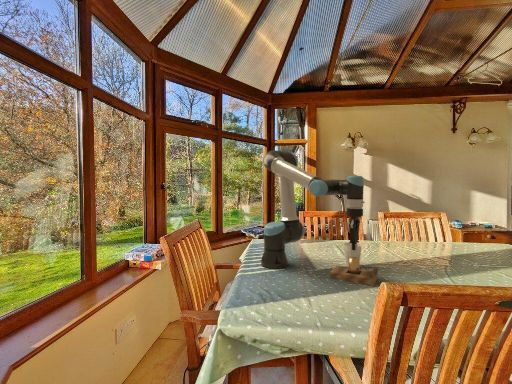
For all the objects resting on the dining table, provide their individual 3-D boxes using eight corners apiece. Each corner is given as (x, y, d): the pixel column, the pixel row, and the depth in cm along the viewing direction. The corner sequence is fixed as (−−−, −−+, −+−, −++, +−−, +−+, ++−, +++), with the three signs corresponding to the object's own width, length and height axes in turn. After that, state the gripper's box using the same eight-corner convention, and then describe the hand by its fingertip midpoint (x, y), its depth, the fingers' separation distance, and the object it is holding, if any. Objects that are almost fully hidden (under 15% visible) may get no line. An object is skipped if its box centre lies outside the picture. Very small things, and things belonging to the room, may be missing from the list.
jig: (329, 277, 140) (329, 267, 140) (336, 270, 150) (336, 261, 150) (373, 286, 130) (373, 275, 130) (377, 277, 140) (377, 267, 140)
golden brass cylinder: (347, 278, 139) (347, 258, 139) (349, 275, 144) (350, 255, 143) (358, 280, 137) (358, 259, 136) (360, 277, 141) (360, 257, 141)
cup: (349, 269, 153) (350, 246, 153) (340, 264, 162) (340, 243, 161) (364, 267, 156) (364, 245, 155) (354, 262, 164) (354, 242, 164)
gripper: (360, 209, 131) (359, 260, 132) (365, 207, 142) (364, 254, 143) (343, 208, 135) (342, 258, 136) (350, 206, 146) (349, 252, 147)
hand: (354, 256), depth 140 cm, fingers closed
